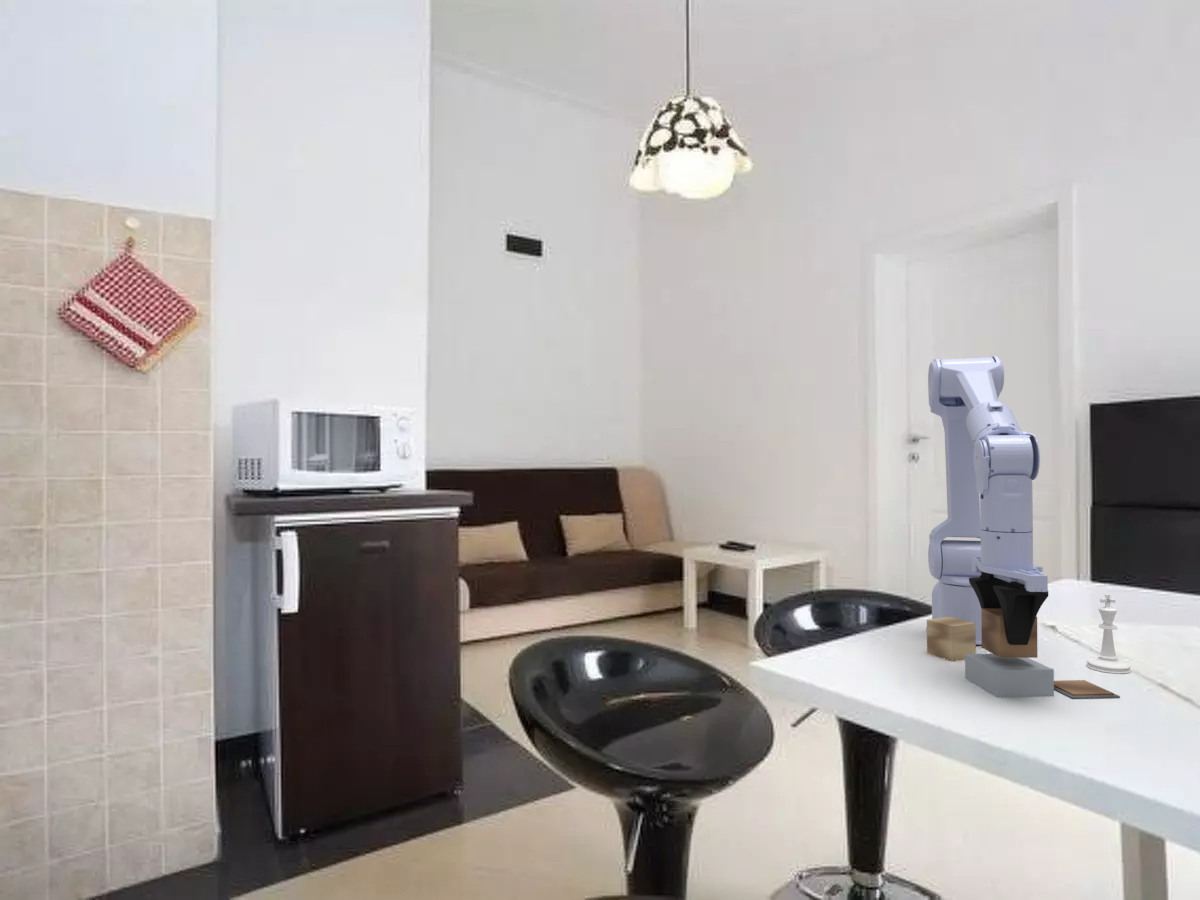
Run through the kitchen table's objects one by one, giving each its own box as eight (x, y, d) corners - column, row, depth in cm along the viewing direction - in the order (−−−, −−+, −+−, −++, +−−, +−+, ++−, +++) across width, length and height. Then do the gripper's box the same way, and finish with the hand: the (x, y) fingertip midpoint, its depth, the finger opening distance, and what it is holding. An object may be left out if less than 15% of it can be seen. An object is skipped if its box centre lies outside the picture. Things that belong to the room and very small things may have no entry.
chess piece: (1138, 674, 94) (1137, 598, 94) (1096, 672, 95) (1096, 597, 95) (1119, 664, 98) (1118, 591, 99) (1079, 662, 99) (1078, 590, 100)
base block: (965, 681, 93) (965, 654, 93) (1018, 680, 93) (1017, 653, 93) (996, 699, 86) (996, 670, 86) (1053, 698, 86) (1053, 669, 86)
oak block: (926, 653, 105) (926, 619, 105) (949, 650, 106) (949, 616, 106) (952, 661, 100) (952, 626, 100) (975, 658, 102) (975, 623, 102)
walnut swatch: (1040, 683, 91) (1040, 679, 91) (1085, 682, 91) (1085, 679, 91) (1072, 698, 85) (1072, 695, 85) (1119, 697, 85) (1119, 694, 85)
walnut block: (981, 647, 92) (981, 608, 92) (1017, 647, 91) (1017, 608, 91) (999, 657, 87) (999, 616, 87) (1037, 657, 87) (1037, 616, 87)
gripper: (1074, 537, 82) (1075, 655, 82) (1009, 524, 96) (1010, 625, 96) (1011, 537, 82) (1012, 654, 82) (955, 524, 97) (956, 624, 97)
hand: (1007, 638), depth 89 cm, fingers closed on walnut block, 4 cm apart
